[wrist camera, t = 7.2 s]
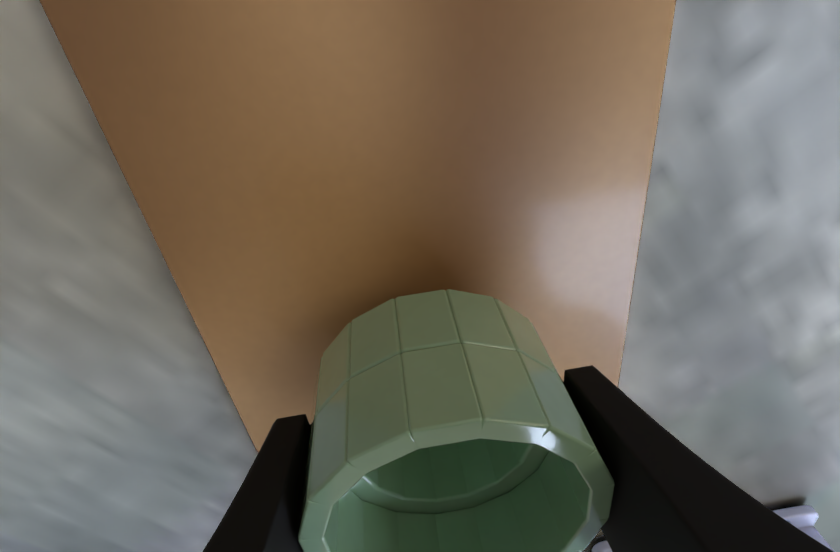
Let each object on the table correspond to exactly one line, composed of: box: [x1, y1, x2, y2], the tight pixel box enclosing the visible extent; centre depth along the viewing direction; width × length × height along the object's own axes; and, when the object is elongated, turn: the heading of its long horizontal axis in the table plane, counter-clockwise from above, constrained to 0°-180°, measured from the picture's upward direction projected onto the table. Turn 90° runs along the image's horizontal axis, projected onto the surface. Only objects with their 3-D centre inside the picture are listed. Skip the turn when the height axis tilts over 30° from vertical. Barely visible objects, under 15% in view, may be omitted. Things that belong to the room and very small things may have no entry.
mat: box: [39, 0, 676, 453], centre depth 13 cm, size 11×20×1 cm, turn 7°
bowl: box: [297, 289, 615, 552], centre depth 10 cm, size 6×6×4 cm
